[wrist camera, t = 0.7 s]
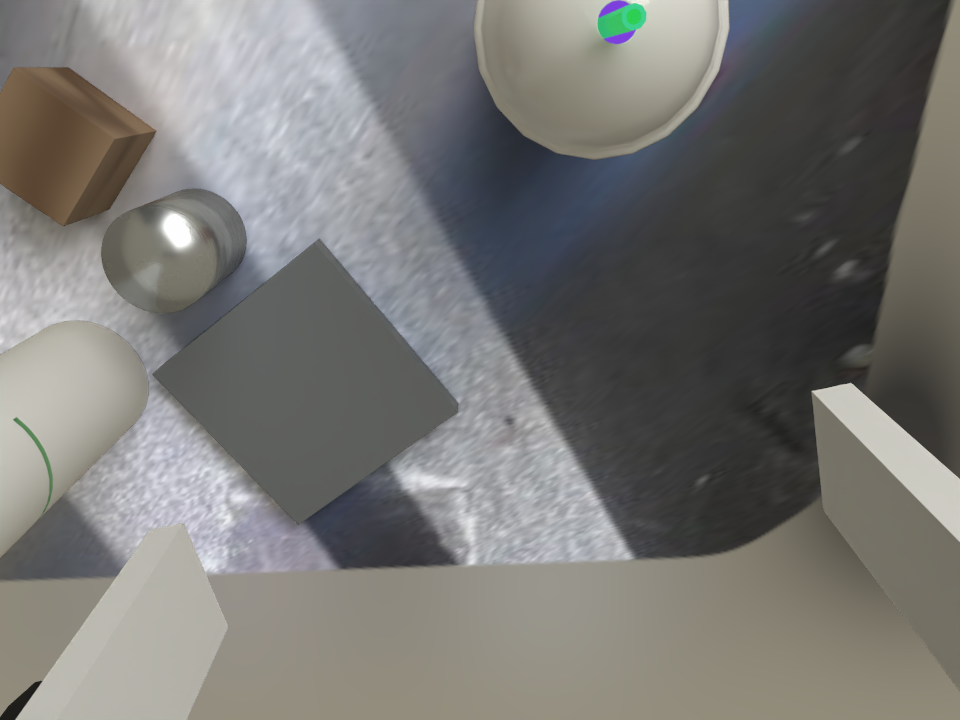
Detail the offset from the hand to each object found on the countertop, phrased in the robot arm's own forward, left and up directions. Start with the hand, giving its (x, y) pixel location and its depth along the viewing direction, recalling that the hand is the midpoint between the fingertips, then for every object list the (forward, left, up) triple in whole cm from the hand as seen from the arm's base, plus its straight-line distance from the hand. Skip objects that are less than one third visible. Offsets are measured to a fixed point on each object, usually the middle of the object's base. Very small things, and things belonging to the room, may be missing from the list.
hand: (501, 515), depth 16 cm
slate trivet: (0, -13, -28) cm, 31 cm away
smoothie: (-6, +9, -28) cm, 30 cm away
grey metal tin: (-10, -12, -28) cm, 32 cm away
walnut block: (-17, -13, -28) cm, 35 cm away
